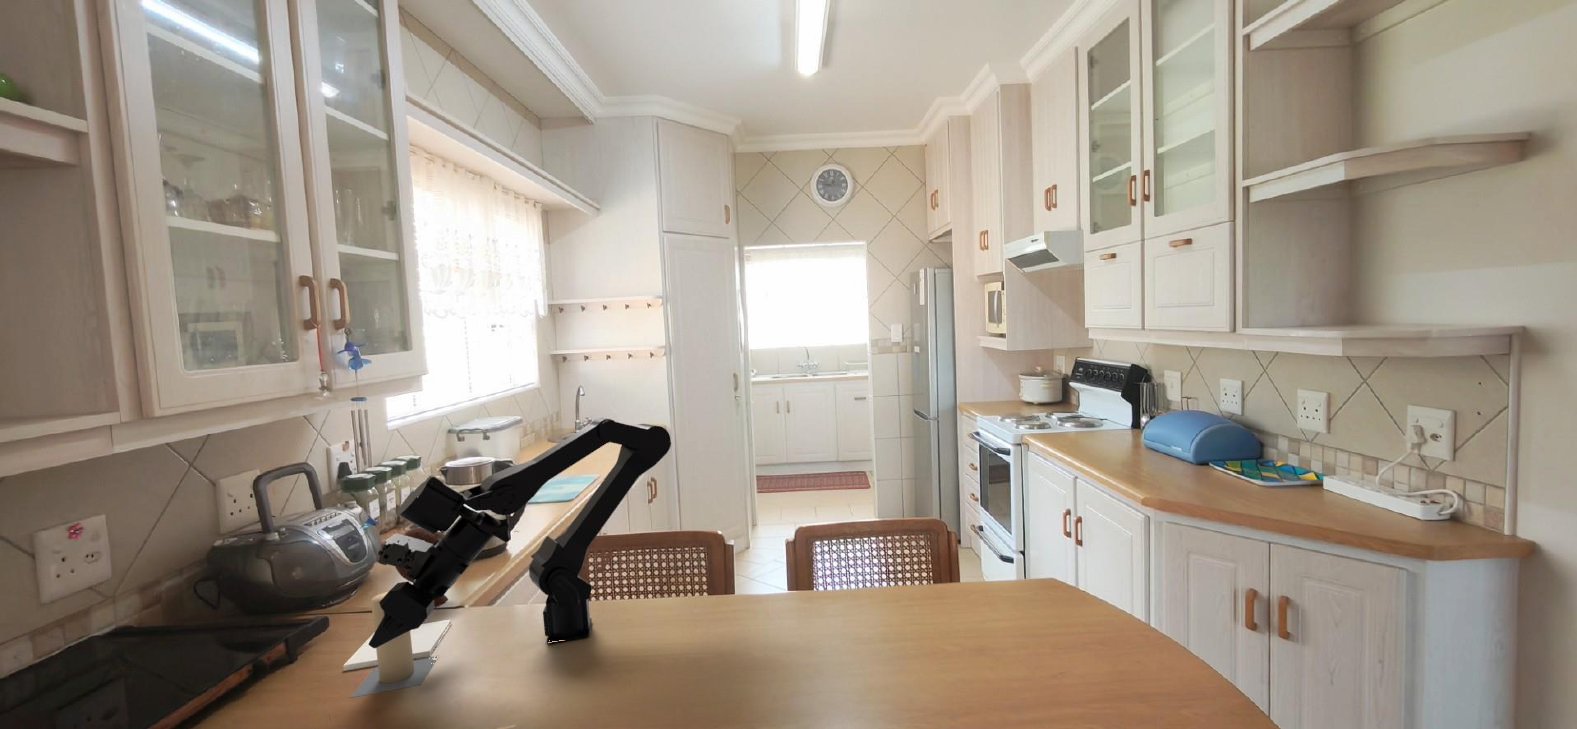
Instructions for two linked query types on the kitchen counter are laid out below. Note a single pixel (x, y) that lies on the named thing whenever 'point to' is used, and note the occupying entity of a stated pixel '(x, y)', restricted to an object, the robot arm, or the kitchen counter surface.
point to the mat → (375, 686)
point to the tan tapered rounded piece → (392, 650)
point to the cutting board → (420, 639)
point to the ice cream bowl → (429, 538)
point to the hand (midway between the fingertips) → (384, 632)
